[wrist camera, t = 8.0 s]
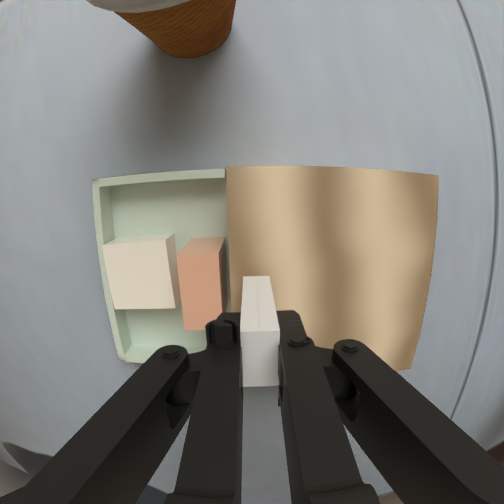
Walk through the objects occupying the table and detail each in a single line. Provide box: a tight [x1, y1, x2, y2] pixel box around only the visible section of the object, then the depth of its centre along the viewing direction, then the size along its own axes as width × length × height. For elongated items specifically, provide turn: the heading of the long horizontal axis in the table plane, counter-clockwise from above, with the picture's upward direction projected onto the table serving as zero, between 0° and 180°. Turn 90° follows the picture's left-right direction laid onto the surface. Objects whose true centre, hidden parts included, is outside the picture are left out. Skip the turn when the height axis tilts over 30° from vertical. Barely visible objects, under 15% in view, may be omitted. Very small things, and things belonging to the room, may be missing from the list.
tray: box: [92, 168, 231, 363], centre depth 22 cm, size 10×15×2 cm, turn 1°
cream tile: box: [102, 233, 181, 309], centre depth 21 cm, size 5×5×2 cm
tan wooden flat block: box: [226, 166, 439, 385], centre depth 21 cm, size 14×15×5 cm
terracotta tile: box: [177, 237, 228, 330], centre depth 20 cm, size 5×5×2 cm
